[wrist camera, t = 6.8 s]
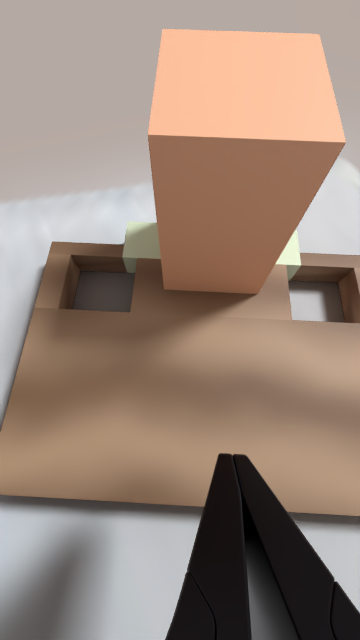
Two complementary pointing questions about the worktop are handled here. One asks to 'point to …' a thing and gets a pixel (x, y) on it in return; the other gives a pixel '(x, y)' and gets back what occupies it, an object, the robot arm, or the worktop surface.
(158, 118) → the terracotta block
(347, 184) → the worktop surface
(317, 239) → the worktop surface
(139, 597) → the worktop surface
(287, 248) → the green end pad
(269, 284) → the walnut board
